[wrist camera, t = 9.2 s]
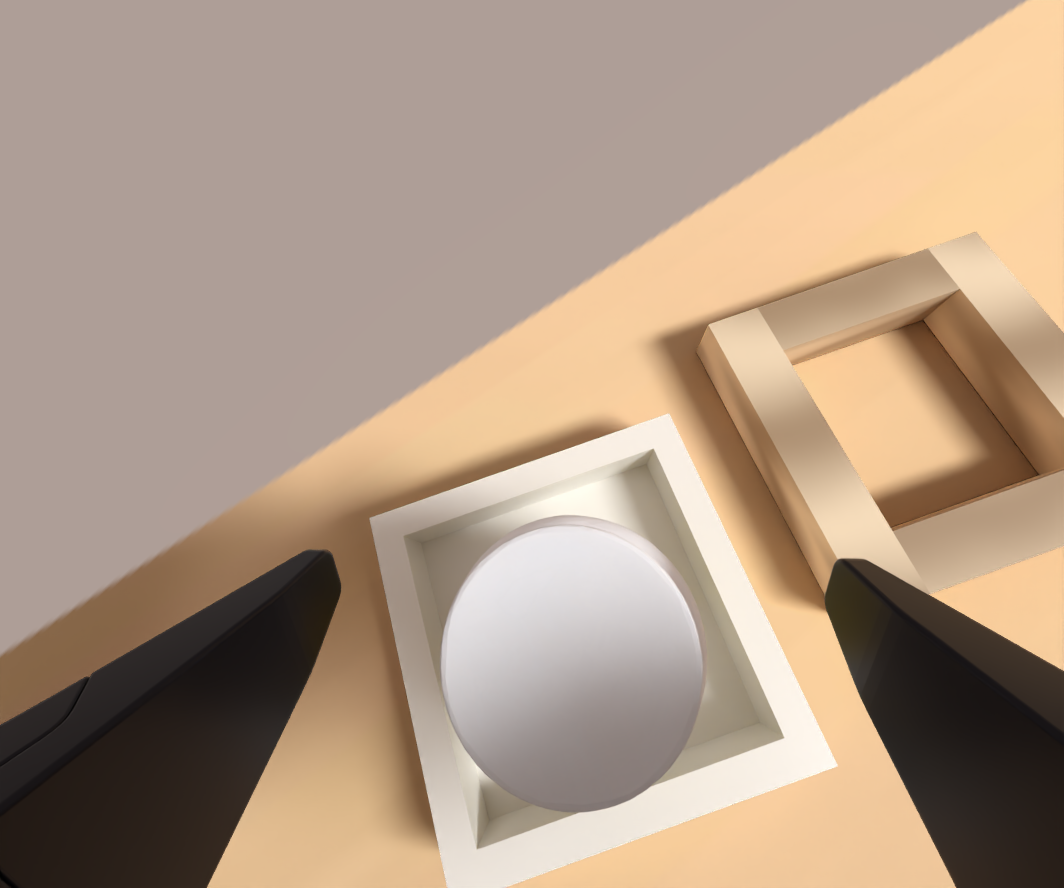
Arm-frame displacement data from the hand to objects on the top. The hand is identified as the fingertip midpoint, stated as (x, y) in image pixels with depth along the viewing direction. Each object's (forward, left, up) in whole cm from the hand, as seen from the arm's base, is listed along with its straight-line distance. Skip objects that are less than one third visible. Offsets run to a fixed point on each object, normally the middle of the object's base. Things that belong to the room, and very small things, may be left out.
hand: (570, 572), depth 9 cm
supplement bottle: (-1, 0, -9) cm, 9 cm away
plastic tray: (-1, 0, -9) cm, 9 cm away
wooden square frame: (+2, -14, -9) cm, 17 cm away
